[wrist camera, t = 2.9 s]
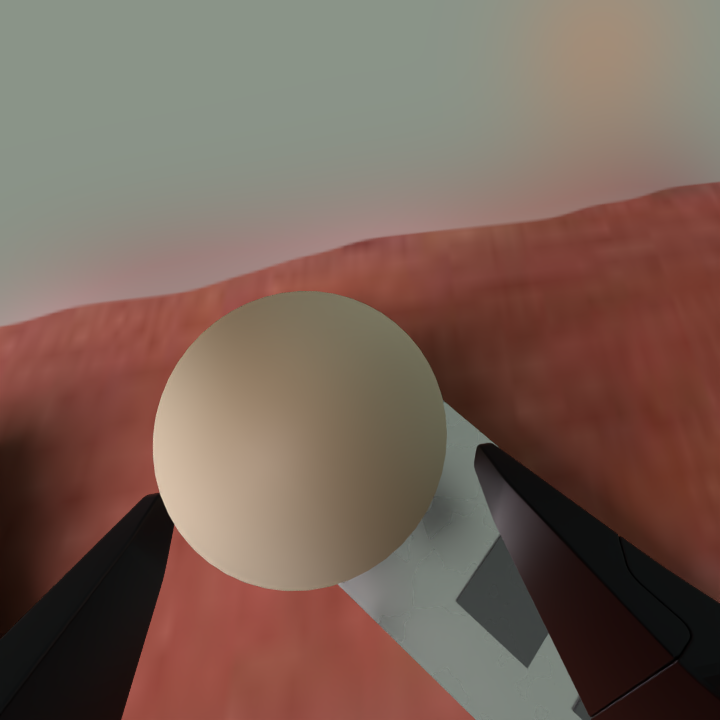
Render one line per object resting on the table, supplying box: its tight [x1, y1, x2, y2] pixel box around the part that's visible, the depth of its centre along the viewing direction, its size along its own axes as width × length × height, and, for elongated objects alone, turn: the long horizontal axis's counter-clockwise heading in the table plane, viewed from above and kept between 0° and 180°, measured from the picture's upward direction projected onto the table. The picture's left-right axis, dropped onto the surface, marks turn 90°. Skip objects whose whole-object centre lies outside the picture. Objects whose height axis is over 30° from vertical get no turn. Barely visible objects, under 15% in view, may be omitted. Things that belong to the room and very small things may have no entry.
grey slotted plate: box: [338, 401, 591, 720], centre depth 16 cm, size 10×26×2 cm, turn 49°
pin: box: [153, 291, 447, 591], centre depth 12 cm, size 5×5×13 cm
